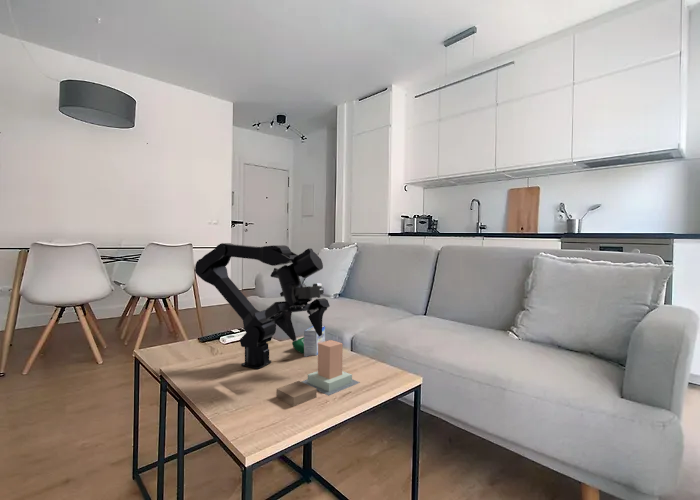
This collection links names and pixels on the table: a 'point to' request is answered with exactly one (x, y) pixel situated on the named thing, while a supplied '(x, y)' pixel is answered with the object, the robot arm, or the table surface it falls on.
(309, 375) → the foundation slab
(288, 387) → the walnut stand
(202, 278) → the robot arm
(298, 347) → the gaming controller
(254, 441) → the table surface
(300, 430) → the table surface
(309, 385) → the baseplate
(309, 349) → the medicine box
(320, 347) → the terracotta brick
